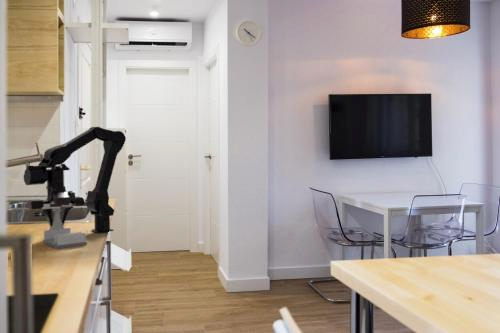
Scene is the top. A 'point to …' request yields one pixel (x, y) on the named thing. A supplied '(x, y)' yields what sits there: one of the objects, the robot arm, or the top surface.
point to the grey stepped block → (63, 238)
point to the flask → (56, 220)
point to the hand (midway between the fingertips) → (56, 226)
